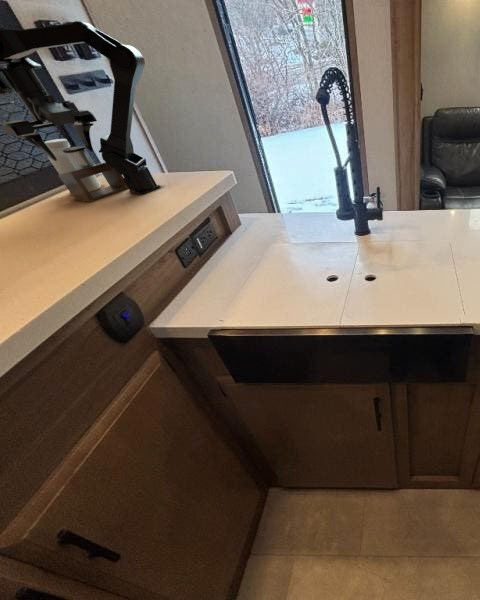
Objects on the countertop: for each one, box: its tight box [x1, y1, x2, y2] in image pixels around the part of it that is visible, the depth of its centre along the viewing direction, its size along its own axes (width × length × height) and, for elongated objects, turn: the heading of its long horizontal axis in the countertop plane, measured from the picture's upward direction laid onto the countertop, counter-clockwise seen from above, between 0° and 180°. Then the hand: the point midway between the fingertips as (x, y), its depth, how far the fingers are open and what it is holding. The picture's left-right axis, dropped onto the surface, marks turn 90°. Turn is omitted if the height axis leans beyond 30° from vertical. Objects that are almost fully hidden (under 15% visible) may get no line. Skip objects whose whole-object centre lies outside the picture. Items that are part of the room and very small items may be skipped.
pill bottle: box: [43, 138, 102, 193], centre depth 101 cm, size 8×8×15 cm
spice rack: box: [57, 161, 129, 203], centre depth 99 cm, size 8×12×9 cm, turn 157°
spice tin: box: [62, 145, 96, 170], centre depth 95 cm, size 5×5×6 cm
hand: (74, 156), depth 92 cm, fingers open, 9 cm apart
